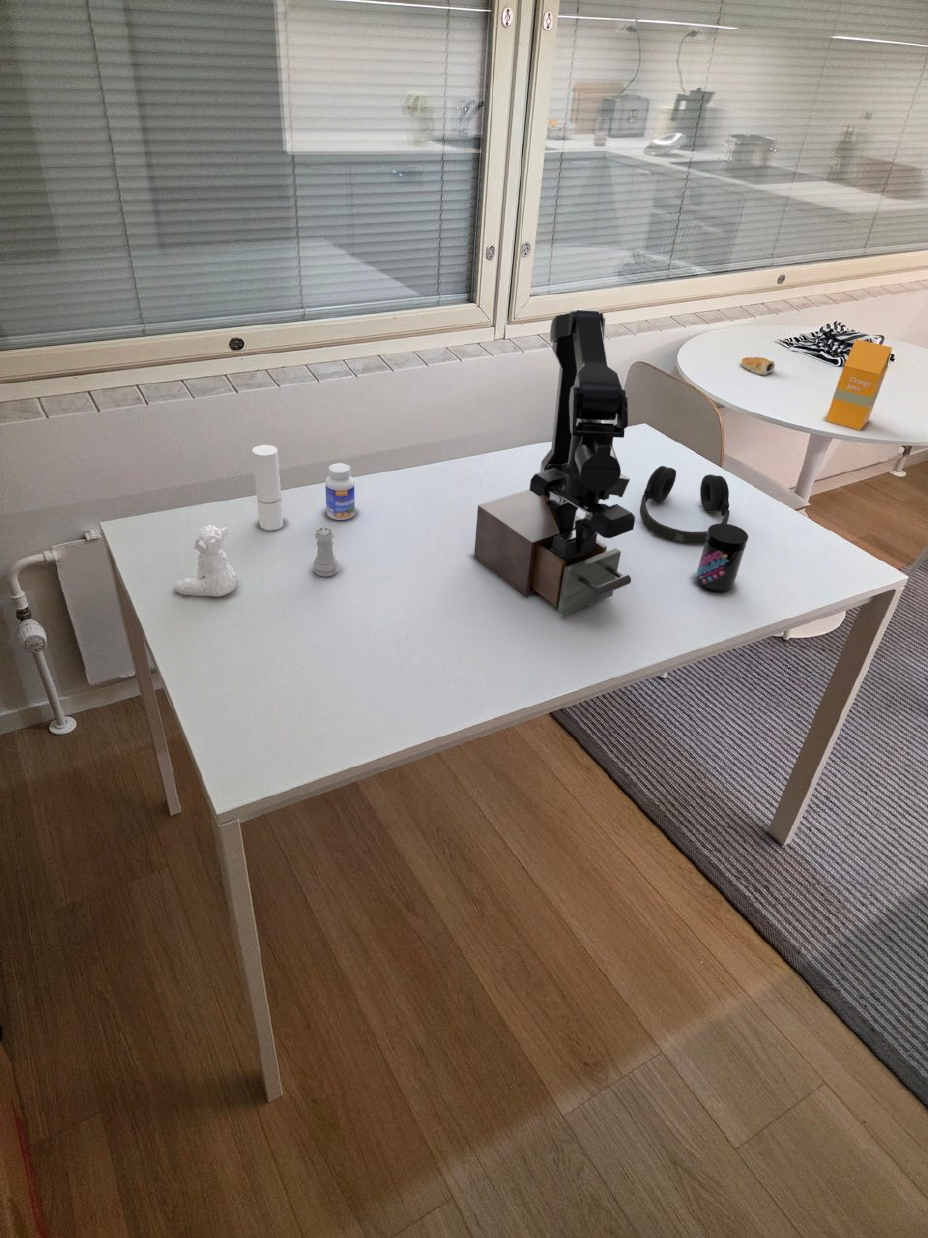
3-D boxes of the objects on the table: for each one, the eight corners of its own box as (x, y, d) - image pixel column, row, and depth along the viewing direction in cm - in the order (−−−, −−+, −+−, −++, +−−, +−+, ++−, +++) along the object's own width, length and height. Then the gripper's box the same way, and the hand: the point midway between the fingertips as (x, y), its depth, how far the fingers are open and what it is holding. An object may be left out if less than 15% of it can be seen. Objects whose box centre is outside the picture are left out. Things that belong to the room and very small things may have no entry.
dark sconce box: (582, 542, 140) (585, 523, 138) (595, 550, 138) (598, 531, 136) (549, 555, 136) (552, 535, 134) (561, 563, 134) (564, 543, 132)
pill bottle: (337, 523, 156) (335, 476, 151) (321, 512, 160) (318, 465, 154) (360, 515, 159) (359, 469, 154) (344, 504, 163) (343, 458, 157)
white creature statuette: (214, 566, 142) (205, 504, 135) (254, 581, 139) (247, 519, 132) (174, 593, 135) (162, 529, 128) (215, 609, 133) (206, 545, 125)
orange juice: (833, 411, 218) (859, 335, 206) (868, 421, 214) (896, 343, 202) (825, 420, 213) (851, 342, 201) (860, 430, 209) (888, 351, 197)
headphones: (735, 470, 167) (730, 530, 153) (726, 500, 172) (720, 561, 158) (651, 456, 170) (638, 513, 156) (644, 486, 175) (632, 544, 162)
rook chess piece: (343, 567, 145) (342, 527, 140) (332, 580, 141) (330, 539, 136) (320, 561, 146) (318, 521, 141) (308, 574, 142) (305, 533, 137)
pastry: (735, 366, 243) (738, 353, 240) (748, 362, 246) (751, 349, 244) (762, 376, 237) (766, 363, 235) (775, 372, 241) (779, 359, 239)
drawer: (633, 610, 138) (643, 565, 133) (583, 632, 132) (591, 586, 127) (559, 558, 149) (565, 515, 144) (510, 577, 144) (515, 533, 138)
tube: (278, 531, 153) (271, 456, 144) (256, 528, 153) (248, 453, 145) (286, 520, 156) (281, 446, 147) (265, 517, 157) (258, 443, 148)
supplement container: (691, 571, 150) (705, 521, 144) (729, 575, 150) (744, 525, 144) (697, 593, 145) (711, 541, 139) (736, 596, 145) (752, 545, 138)
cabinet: (580, 575, 147) (588, 522, 141) (525, 596, 141) (532, 542, 134) (527, 538, 156) (533, 487, 150) (473, 557, 150) (477, 505, 144)
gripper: (668, 472, 125) (648, 560, 135) (584, 427, 137) (571, 511, 146) (616, 489, 120) (599, 580, 129) (532, 441, 131) (522, 527, 141)
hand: (573, 547), depth 136 cm, fingers closed on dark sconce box, 3 cm apart
